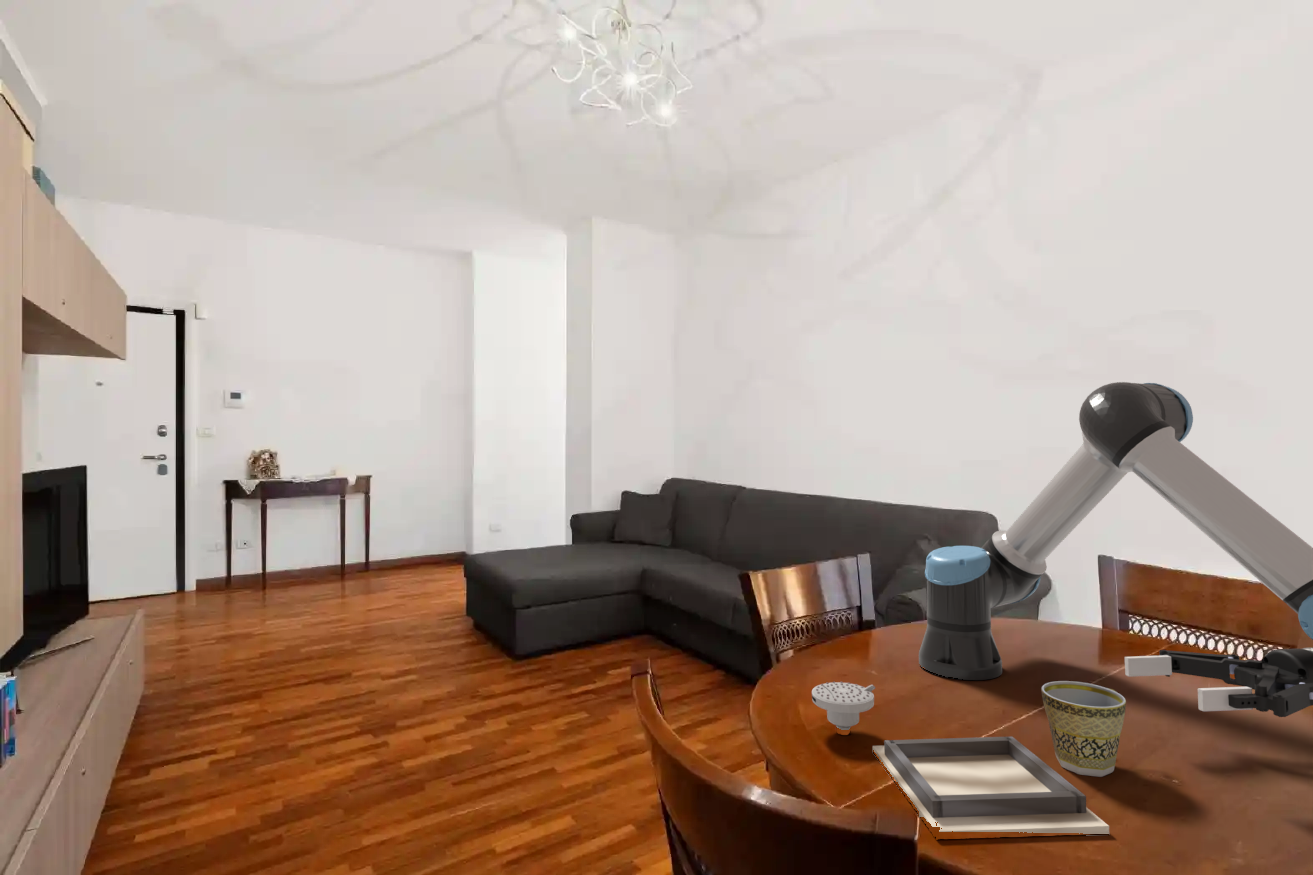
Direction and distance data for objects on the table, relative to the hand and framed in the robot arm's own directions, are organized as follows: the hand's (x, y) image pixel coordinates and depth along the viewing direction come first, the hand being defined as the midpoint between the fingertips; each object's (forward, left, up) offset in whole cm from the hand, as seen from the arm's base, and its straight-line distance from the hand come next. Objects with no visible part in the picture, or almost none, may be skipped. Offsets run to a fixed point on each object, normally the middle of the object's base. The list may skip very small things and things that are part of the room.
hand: (1160, 681), depth 95 cm
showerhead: (-12, -41, -11) cm, 44 cm away
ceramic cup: (0, -10, -11) cm, 15 cm away
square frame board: (+6, -29, -11) cm, 31 cm away
